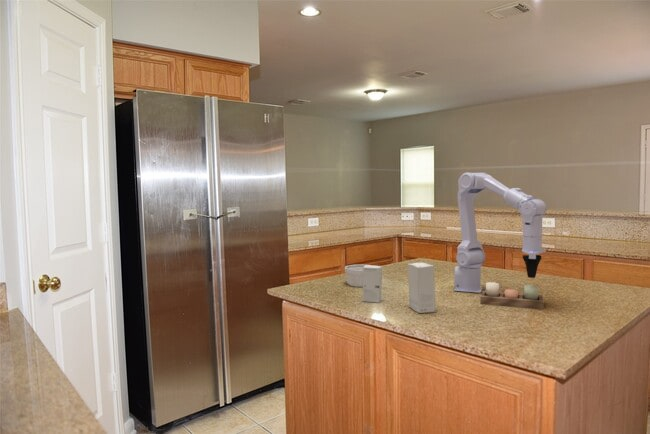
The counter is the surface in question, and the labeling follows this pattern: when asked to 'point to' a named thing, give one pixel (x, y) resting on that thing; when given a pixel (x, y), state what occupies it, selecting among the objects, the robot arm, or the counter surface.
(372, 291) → the skincare box
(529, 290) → the sage button
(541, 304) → the button panel
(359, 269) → the ramekin
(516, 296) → the terracotta button
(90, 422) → the counter surface
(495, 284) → the ivory button
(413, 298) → the skincare box
